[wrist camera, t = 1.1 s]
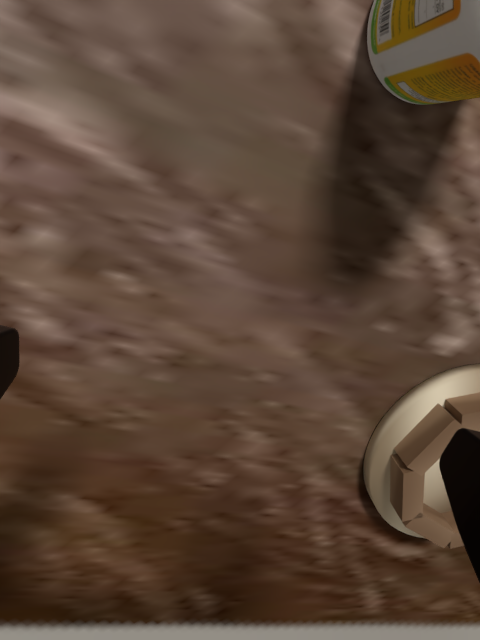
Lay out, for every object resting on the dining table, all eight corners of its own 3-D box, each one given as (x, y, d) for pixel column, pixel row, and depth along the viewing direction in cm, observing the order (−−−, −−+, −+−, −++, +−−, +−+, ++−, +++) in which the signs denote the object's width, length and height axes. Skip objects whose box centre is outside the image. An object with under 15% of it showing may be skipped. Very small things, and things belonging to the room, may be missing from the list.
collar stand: (364, 542, 28) (381, 578, 26) (361, 384, 24) (382, 411, 21) (536, 504, 29) (566, 535, 27) (566, 346, 25) (607, 367, 22)
